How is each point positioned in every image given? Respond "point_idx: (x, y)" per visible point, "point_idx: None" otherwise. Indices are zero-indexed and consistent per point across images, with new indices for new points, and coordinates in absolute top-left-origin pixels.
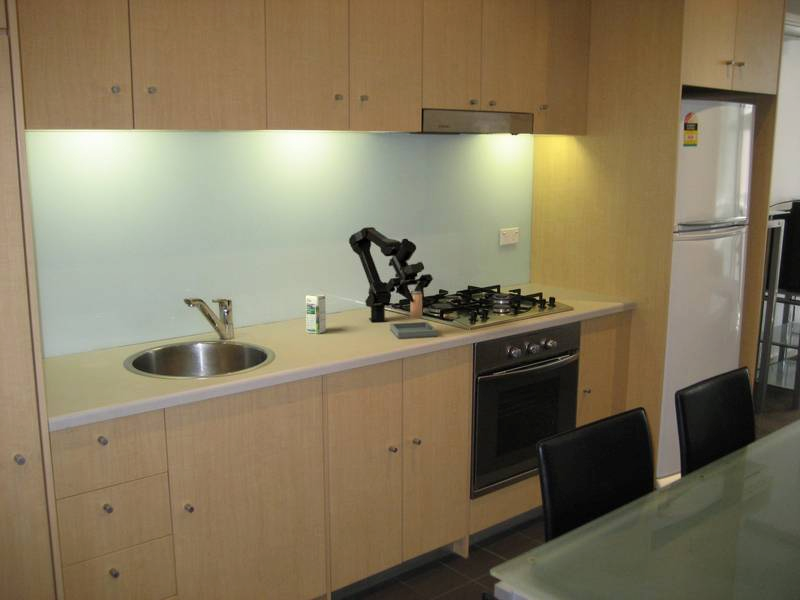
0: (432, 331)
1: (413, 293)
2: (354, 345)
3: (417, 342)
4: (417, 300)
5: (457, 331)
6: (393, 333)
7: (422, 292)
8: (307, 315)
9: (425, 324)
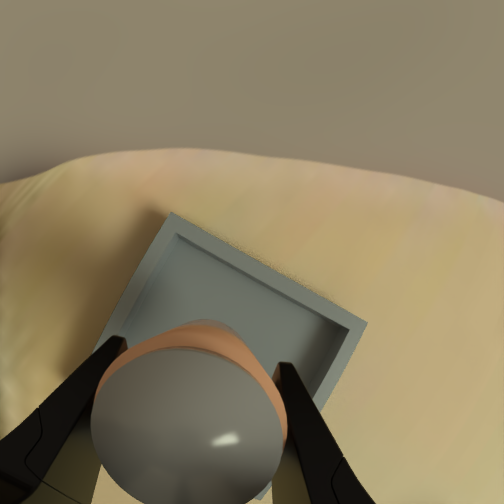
0: (194, 225)
1: (275, 414)
2: (501, 341)
3: (325, 209)
4: (233, 339)
5: (37, 232)
6: None
7: (70, 400)
8: None
9: None
